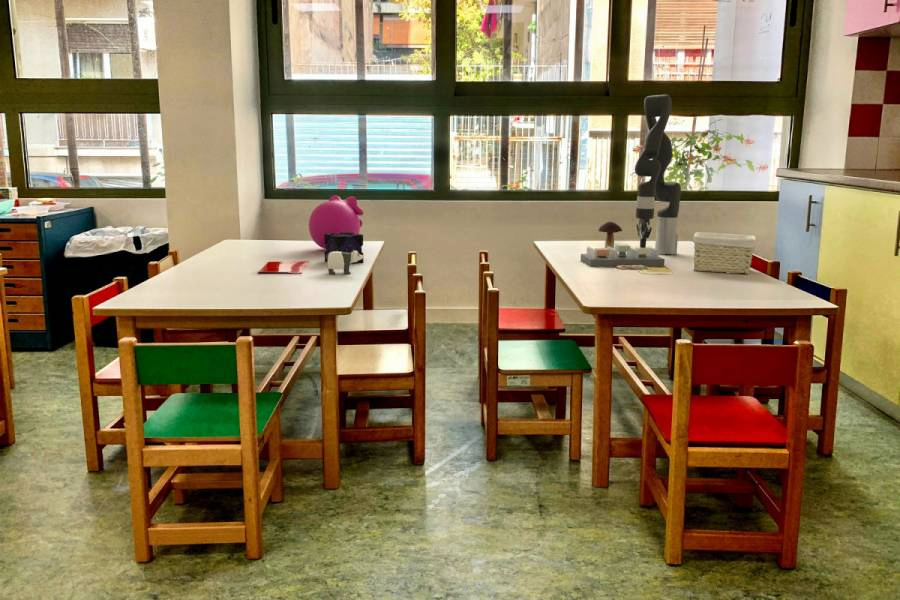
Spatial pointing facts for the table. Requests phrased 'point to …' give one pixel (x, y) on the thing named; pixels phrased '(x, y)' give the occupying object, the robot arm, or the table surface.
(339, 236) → the energy cube
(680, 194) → the robot arm
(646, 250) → the key ivory
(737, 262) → the storage basket
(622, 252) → the key sage
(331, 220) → the figurine
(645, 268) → the strip
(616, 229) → the decorative mushroom
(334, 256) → the giant panda
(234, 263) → the table surface
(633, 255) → the grey shelf board
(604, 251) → the orange cube
